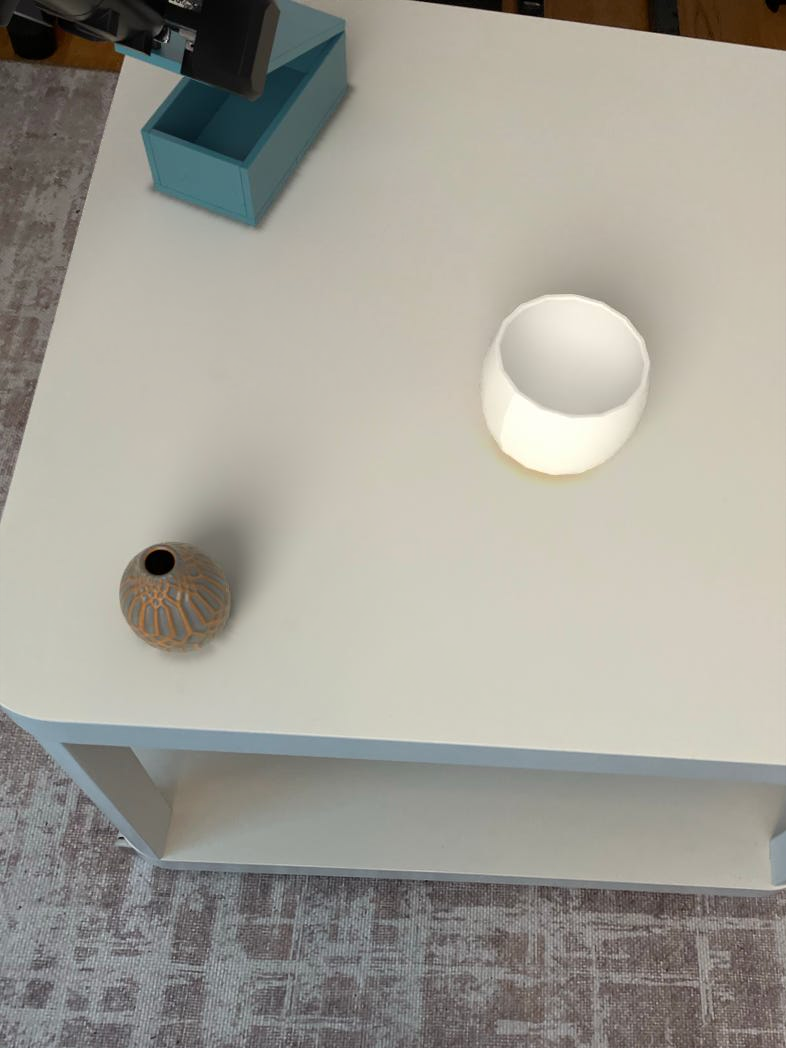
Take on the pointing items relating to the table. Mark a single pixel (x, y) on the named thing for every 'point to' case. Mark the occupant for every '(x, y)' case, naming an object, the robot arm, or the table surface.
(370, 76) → the table surface
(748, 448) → the table surface
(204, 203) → the teal rectangular box
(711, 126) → the table surface
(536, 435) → the cup
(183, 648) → the vase
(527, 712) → the table surface
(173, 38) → the lid
